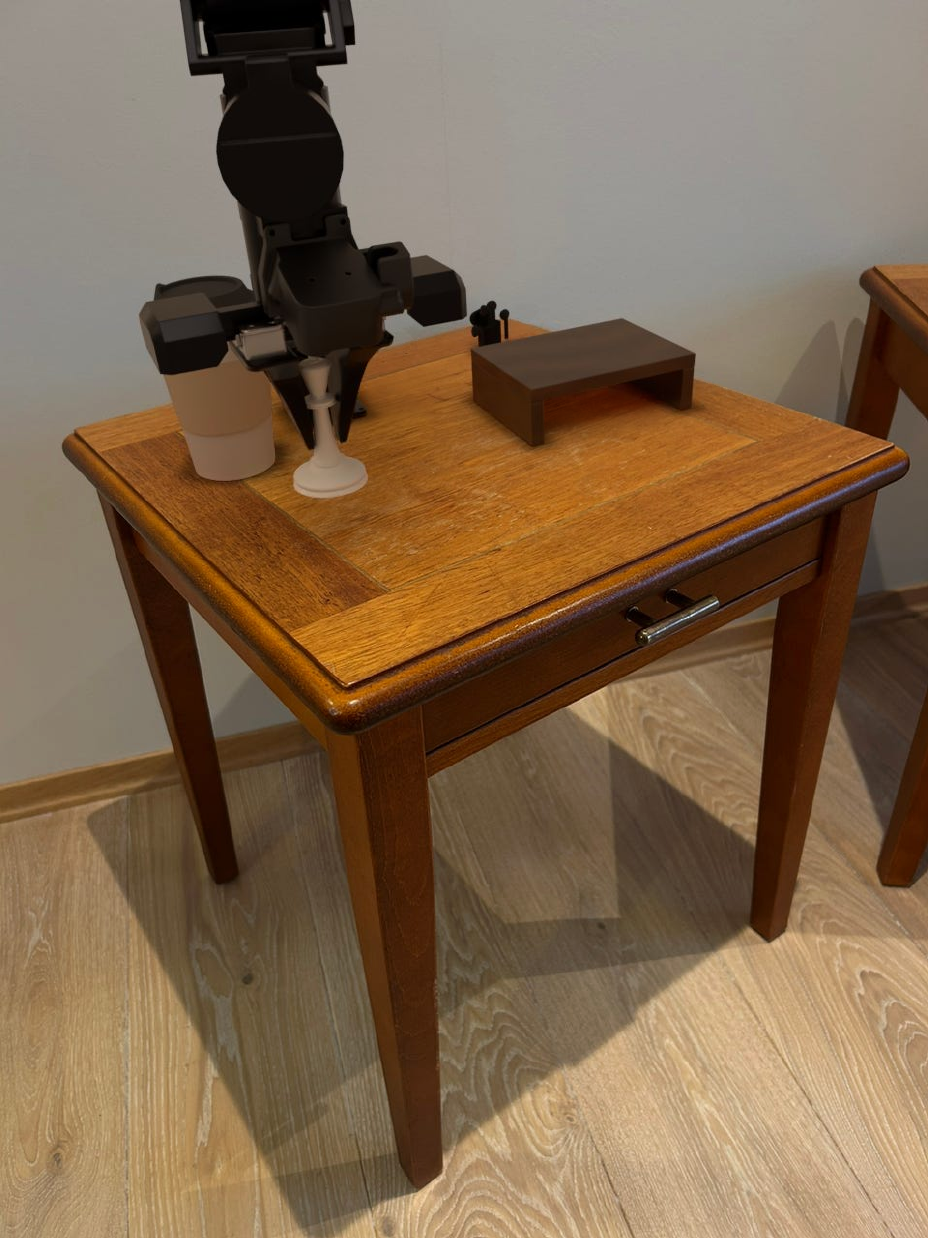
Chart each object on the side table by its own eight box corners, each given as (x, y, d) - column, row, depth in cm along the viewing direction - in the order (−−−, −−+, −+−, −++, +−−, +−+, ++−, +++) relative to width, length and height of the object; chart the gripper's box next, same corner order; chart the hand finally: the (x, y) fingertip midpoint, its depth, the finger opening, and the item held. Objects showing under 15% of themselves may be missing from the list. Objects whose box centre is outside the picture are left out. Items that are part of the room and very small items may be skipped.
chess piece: (355, 500, 62) (335, 346, 56) (283, 496, 63) (255, 345, 57) (376, 466, 66) (359, 319, 60) (307, 463, 67) (284, 318, 61)
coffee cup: (288, 435, 86) (259, 261, 78) (290, 478, 79) (258, 291, 70) (185, 447, 85) (144, 272, 77) (177, 492, 78) (131, 304, 69)
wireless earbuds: (478, 362, 99) (476, 313, 96) (458, 359, 100) (455, 310, 97) (513, 342, 104) (512, 294, 101) (493, 339, 105) (491, 291, 102)
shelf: (473, 400, 91) (470, 348, 88) (620, 368, 95) (622, 317, 93) (531, 446, 81) (531, 389, 78) (691, 408, 86) (696, 353, 83)
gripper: (138, 237, 45) (207, 533, 54) (501, 184, 50) (510, 458, 59) (108, 198, 53) (172, 458, 62) (422, 156, 59) (440, 400, 68)
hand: (325, 444), depth 63 cm, fingers closed on chess piece
